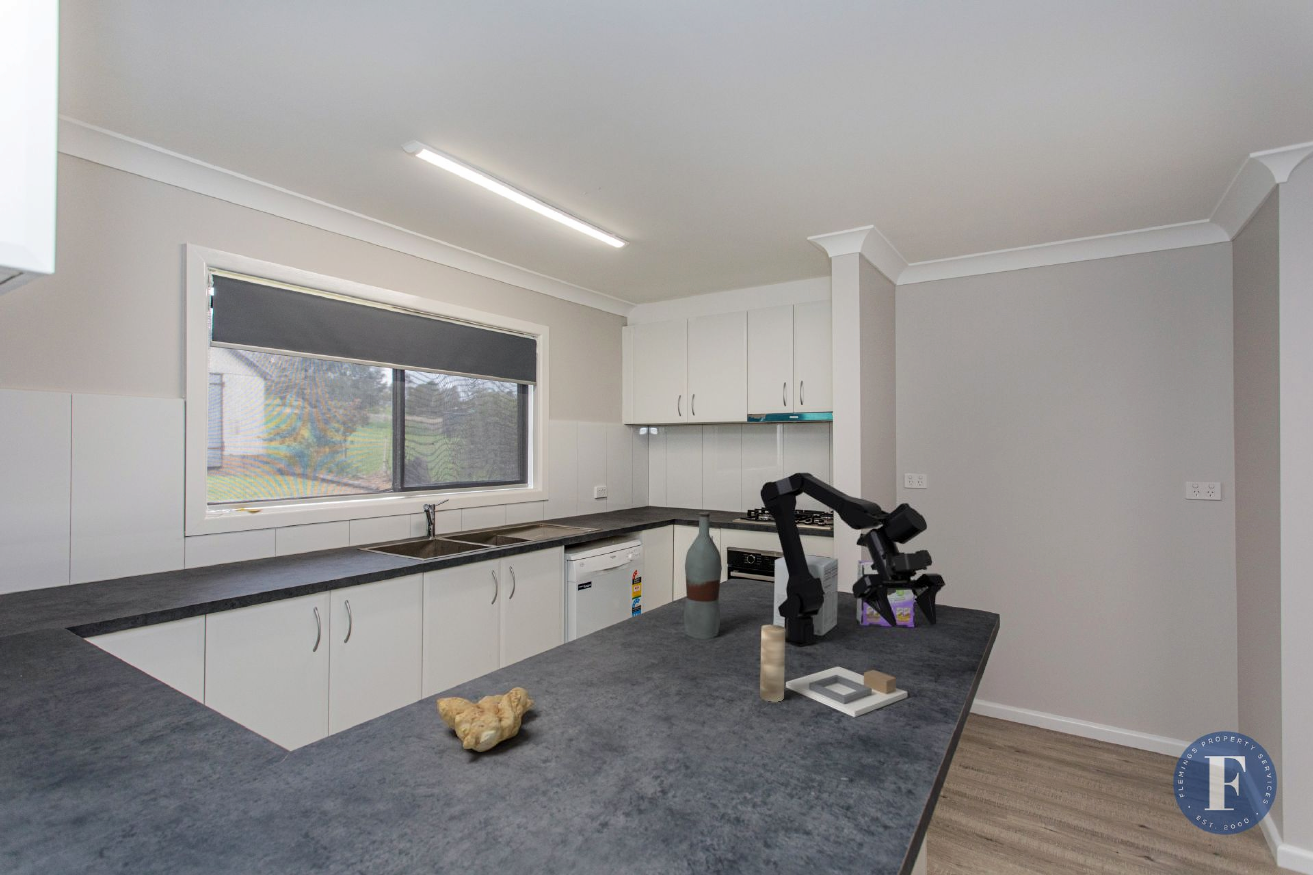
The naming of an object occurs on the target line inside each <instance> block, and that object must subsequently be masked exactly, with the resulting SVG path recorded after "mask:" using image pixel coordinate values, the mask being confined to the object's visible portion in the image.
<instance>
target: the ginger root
mask: <svg viewBox="0 0 1313 875" xmlns="http://www.w3.org/2000/svg"><path fill="white" fill-rule="evenodd" d="M534 704H535V702H534V700H532V699H530V693H529V692H528V691H527V690H526V689H524V688H522V687H520V686H516V687H514V688H512V689H511V690H510V691H509V692H508V693H506V694H504V695H503V694H495V695H494V696H493V695H492V696H491V695H486V696H484V697H483V698H482V699H481V700H479V701H478V702H476V703H474V702H471V700H468V699H465V698H462V697H458V696H457V697H455V696H453V697H442V698H440V699H437V701H436V707H437V709H436V710H437V712H438V715H439V717H440V719H441V720H442V721H443V722H444V723H445V725H447V726H448V727H449V728H451V729H453V730H454V731H455V732H456V735H457V737H458V739H459V740H461V742H462V748H463V749H465V750H466V749H467V750H470V749H472V750H474V751H477V752H478V753H481V752H482V753H483V752H486V751H488V750H491V749H492V748H493V747H495V746H496V745H498V744H499V743H500V742H502V741H505V740H509V739H511V738H513V737H515V736H516V735H517V734H518V732H519V730H520V727H521V725H522V717H523V715H524V714H526V713H527V712H528V711H529V709H531V708H532V707H533V706H534Z"/></svg>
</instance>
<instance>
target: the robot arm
mask: <svg viewBox="0 0 1313 875" xmlns="http://www.w3.org/2000/svg"><path fill="white" fill-rule="evenodd" d="M802 494H805V495H807V496H809V497H811V498H813V499H814V500H816V501H818V502H820V503H821V504H823V505H825V506H827V507H828V508H829V509H831V510H833V511H834V512H835V513H837V514H838V516H839V518H840V520H841V521H843V522H844V523H845V524H846V525H847V526H848V527H849V528H851V529H852V530H857V531H859V530H860V531H861V530H868V529H870V530H869V531H867V532H866V533H860V534H859V537H858V538H857V540H856V543H855V544H856V545H857V546H860V547H865V548H867V549H868V552H869V555H870V558H871V561H873V564H872V565H871V568H872V570H877V573H878V574H864V575H863V576H862V577H860V578H859V579H858V578H857V580H856V581H855V582H854V583H853V584H852V586H851V587H852V588H851V591H852V594H853V597H854V599H856V600H857V599H861V601H862V602H865V603H867V604H868V605H869V606H870V607H872V608H873V609H874V610H875V611H876V612H877V613H879V614H880V615H881V616H882V617H883V618H884V619H885V620H886V621H887V622H888V623H889V624H890V625H891V626H890V627H892V628H896V626H897V622H896V619H895V616H894V613H893V611H892V608H891V605H890V603H889V600H888V597H887V593H888V590H912V593H913V594H914V595H915V598H914V602H915V603H916V604H917V606H918V607H919V609H920V610H921V613H923V616H925V618H926V620H927V621H928V622H929V624H930V625H931V626H932V627H934V626H935V625H936V624H937V611H936V609H937V608H936V597H937V594H938V593H939V592H940V591H941V590H942V588H944V587H945V586H946V583H945V580H944V578H943V576H942V574H940V573H922V574H921V575H919V577H917V578H915V580H911V577H914V576H915V577H916V575H917V571H922V570H923V571H928V567H931V566H932V564H933V560H932V556H931V554H930V553H929V551H928V549H919V550H916V551H915V552H908V553H905V552H902V551H901V552H900V550H899V548H898V545H897V544H896V543H898V544H901V545H905V544H907V543H908V542H910V541H911V540H912V539H914V538H916V537H917V536H919V535H920V534H921V533H923V532H925V531H926V530H927V529H928V524H927V521H926V520H925V517H924V516H923V514H920V512H919V511H918V510H916V509H915V508H913V507H911V506H910V504H909V503H908V502H904V503H900V504H899V505H897V507H896V508H895V509H894V510H893V511H891V512H889V511H885V510H883V509H882V507H881V506H880V505H879V504H878V503H876V502H873V501H870V500H867V499H864V498H860V497H855V496H851V495H848V494H846V493H845V492H842V491H841V490H840V489H837V488H836V487H833V486H831V485H830V484H828V483H826V482H824V481H823V480H821V479H819V478H818V477H815V476H814V475H813V474H811V473H809V472H795V473H793V474H791V475H789V476H787V477H784V478H782V479H779V480H776V481H767V482H765V483H764V484H763V485H762V487H761V489H760V497H761V501H762V503H763V506H764V508H765V510H766V511H767V512H768V513H769V515H771V517H772V518H773V520H774V522H775V527H776V530H777V535H778V538H779V539H778V540H779V543H780V547H781V550H782V554H783V557H784V559H785V563H786V567H787V570H788V574H789V578H788V583H787V587H786V592H787V599H786V600H785V601H784V602H783V603H782V604H781V605H780V606H779V607H778V610H779V614H780V616H782V617H785V621H784V628H785V643H788V644H790V645H793V646H797V647H804V646H808V645H812V644H815V643H818V640H817V639H815V635H814V625H813V617H811V616H814V615H818V612H819V609H820V608H821V607H822V604H823V603H824V596H823V595H825V592H824V591H823V588H822V583H821V579H820V578H819V577H818V578H814V577H813V576H812V575H811V573H810V572H809V569H808V565H807V562H806V558H805V555H806V554H805V551H804V547H803V543H802V541H801V540H802V539H801V536H800V532H799V528H798V525H797V521H796V517H795V511H796V508H797V507H796V506H797V503H798V502H797V497H798V496H800V495H802ZM879 526H880V527H879Z"/></svg>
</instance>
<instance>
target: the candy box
mask: <svg viewBox="0 0 1313 875" xmlns="http://www.w3.org/2000/svg"><path fill="white" fill-rule="evenodd" d="M872 564H873V560H857V580H858V579H859V578H860V577H862V576H863V575H864V574H878V573H877V570H872V568H871V565H872ZM915 577H916V575H915V576H914V577H911V580H916V578H915ZM887 597H888V600H889V603H890V605H891V608H892V611H893V613H894V616H895V619H896V622H897V626H896V627H898V628H899V627H901V628H915V603H916V602H915V598H916V596H915V595H914V594H913V593H912V590H888V593H887ZM856 620H857V622H858V623H859V625H860V626H872V627H873V626H874V627H875V626H876V627H877V626H878V627H892V626H891V625H890V624H889V623H888V622H887V621H886V620H885V619H884V618H883V617H882V616H881V615H880V614H879V613H877V612H876V611H875V610H874V609H873V608H872V607H870V606H869V605H868V604H867V603H865V602H862V601H861V599H856ZM896 627H895V628H896Z"/></svg>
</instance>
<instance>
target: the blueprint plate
mask: <svg viewBox="0 0 1313 875" xmlns="http://www.w3.org/2000/svg"><path fill="white" fill-rule="evenodd" d="M896 684H897V678H896V677H894V676H892V675H889V674H886V673H883V672H882V671H881V672H880V671H878V670H875V669H871V670H868V671H866V672H865V671H864V672H863V674H860V673H857V672H855V671H852V670H850V669H846V668H843V667H840V666H835V667H832V668H829V669H825V670H822V671H819V672H815V673H812V674H808V675H804V676H802V677H798V678H795V679H792V680H789V681H786V682H785V688H787V689H789V690H791V691H794V692H796V693H798V694H800V695H803V696H805V697H808V698H810V699H813V700H814V701H817V702H819V703H821V704H824V705H826V706H828V707H829V708H830V707H831V708H833V709H835V710H837V711H839V712H842V713H844V714H847V715H848V716H851V717H853V718H856V717H860V716H861V715H864V714H867V713H869V712H872V711H875V710H877V709H880V708H882V707H885V706H888V705H890V704H893V703H896V702H898V701H900V700H903V699H907V698H908V691H906V690H904V689H900V688H897V687H896V686H897V685H896Z"/></svg>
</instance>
